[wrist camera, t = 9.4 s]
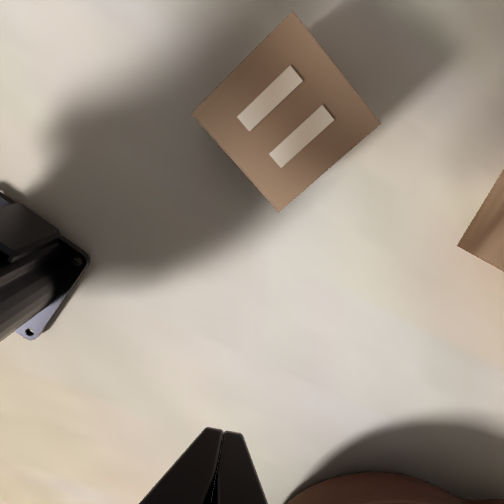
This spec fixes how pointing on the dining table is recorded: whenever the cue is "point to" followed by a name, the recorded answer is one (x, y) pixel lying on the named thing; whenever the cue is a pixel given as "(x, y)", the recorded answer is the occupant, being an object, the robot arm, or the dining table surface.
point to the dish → (379, 491)
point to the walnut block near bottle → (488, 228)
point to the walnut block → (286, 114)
